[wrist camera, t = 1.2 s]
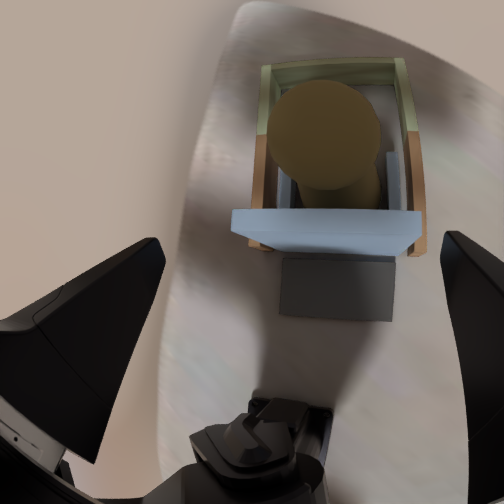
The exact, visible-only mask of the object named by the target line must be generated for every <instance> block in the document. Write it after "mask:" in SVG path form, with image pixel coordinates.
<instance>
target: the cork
mask: <svg viewBox="0 0 504 504" xmlns="http://www.w3.org/2000/svg"><path fill="white" fill-rule="evenodd" d="M266 137H267V142H268V145H269V149H270V153H271V156H272V157H273V159H274V160H275V162H276V163H277V164H278V166H279V167H280V169H281V170H282V171H283V172H284V174H286V175H287V176H289V177H290V178H291V179H293V180H294V181H296V182H297V184H298V188H299V192H300V196H301V199H302V203H303V207H304V209H371V210H378V209H379V206H380V202H381V184H380V180H379V177H378V173H377V170H376V166H375V163H374V162H375V161H376V158H377V155H378V152H379V148H380V145H381V131H380V122H379V120H378V118H377V116H376V114H375V112H374V110H373V108H372V106H371V104H370V102H369V101H368V100H367V99H366V98H365V97H364V96H363V95H362V94H361V93H360V92H358V91H357V90H355V89H353V88H351V87H349V86H347V85H345V84H343V83H340V82H336V81H331V80H311V81H308V82H305V83H302V84H299V85H296V86H295V87H293V88H292V89H290V90H289V91H287V92H286V93H284V94H283V96H282V97H281V98H280V99H279V100H278V101H277V102H276V104H275V105H274V107H273V109H272V111H271V114H270V116H269V118H268V121H267V133H266Z"/></svg>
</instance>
